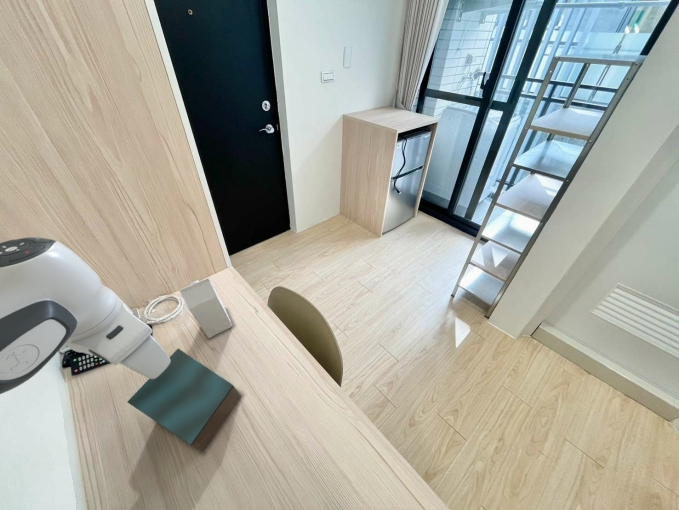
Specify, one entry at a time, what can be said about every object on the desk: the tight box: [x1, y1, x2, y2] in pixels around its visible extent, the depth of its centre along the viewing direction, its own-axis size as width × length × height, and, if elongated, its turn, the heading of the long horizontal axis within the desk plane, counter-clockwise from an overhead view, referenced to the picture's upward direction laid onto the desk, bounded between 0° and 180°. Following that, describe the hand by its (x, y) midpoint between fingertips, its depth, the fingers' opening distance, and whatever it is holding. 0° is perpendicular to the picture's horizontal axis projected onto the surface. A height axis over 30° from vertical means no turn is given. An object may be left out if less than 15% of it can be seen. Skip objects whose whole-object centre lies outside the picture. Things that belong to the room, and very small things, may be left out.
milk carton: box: [178, 277, 233, 339], centre depth 75 cm, size 7×7×19 cm
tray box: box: [190, 385, 242, 453], centre depth 63 cm, size 15×13×7 cm
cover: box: [127, 348, 234, 446], centre depth 58 cm, size 15×13×1 cm
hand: (140, 360), depth 52 cm, fingers closed
